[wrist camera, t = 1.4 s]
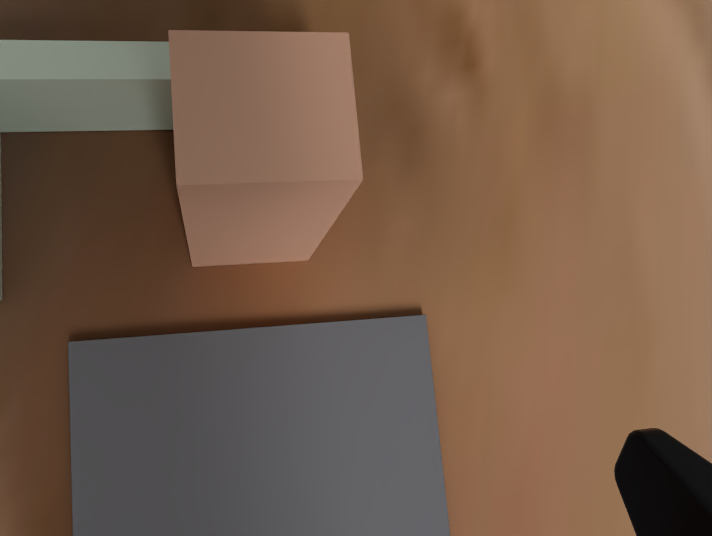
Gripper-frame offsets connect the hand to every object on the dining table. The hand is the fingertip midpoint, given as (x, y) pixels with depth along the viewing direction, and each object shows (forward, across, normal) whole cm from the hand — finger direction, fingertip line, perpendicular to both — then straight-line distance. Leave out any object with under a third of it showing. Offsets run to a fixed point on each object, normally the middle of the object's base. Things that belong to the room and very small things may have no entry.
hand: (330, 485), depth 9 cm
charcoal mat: (+8, 0, +12) cm, 14 cm away
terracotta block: (+15, 0, +5) cm, 16 cm away
